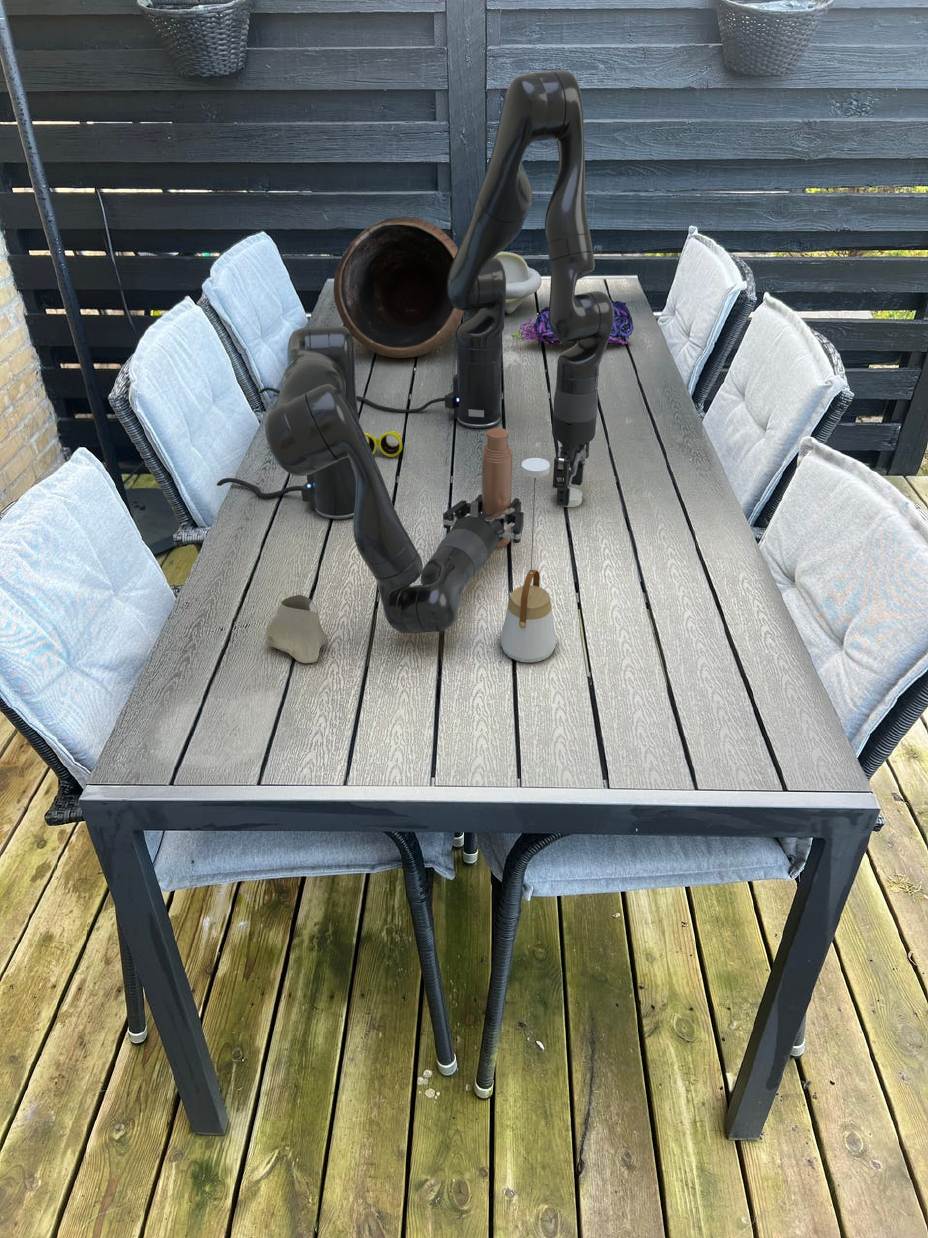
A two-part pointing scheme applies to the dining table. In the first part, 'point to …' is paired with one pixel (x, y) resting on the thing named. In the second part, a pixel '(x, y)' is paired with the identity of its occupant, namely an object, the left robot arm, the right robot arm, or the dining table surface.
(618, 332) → the decorative ornament
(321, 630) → the grey hollow flared piece
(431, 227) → the pot
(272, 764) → the dining table surface
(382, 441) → the opera glasses
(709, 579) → the dining table surface
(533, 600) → the pendant light
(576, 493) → the cap
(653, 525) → the dining table surface
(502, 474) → the bottle
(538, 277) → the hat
